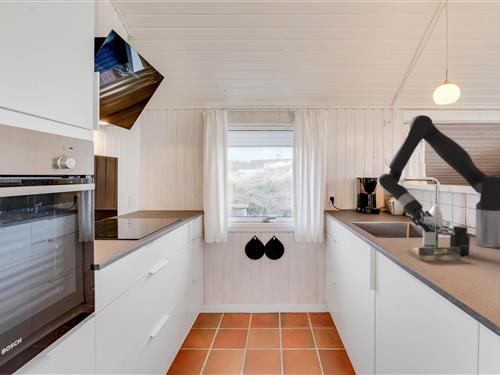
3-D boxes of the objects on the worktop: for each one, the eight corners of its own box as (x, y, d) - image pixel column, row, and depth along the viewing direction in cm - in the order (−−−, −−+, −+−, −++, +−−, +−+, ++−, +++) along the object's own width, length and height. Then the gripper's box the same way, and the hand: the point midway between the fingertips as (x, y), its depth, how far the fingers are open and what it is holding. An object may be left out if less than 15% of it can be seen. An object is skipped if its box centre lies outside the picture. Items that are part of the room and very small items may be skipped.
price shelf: (440, 251, 126) (440, 240, 126) (460, 260, 114) (460, 247, 113) (404, 252, 126) (404, 241, 126) (420, 260, 114) (420, 248, 114)
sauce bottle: (445, 232, 165) (446, 202, 164) (435, 233, 163) (436, 202, 162) (433, 230, 172) (433, 201, 172) (423, 231, 170) (423, 201, 169)
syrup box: (423, 247, 133) (424, 217, 132) (422, 244, 138) (423, 215, 138) (438, 249, 130) (438, 217, 130) (436, 246, 136) (437, 216, 135)
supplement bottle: (461, 257, 118) (461, 228, 117) (445, 253, 124) (446, 225, 124) (473, 255, 119) (474, 227, 119) (457, 251, 126) (458, 224, 125)
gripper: (406, 199, 136) (431, 227, 127) (423, 198, 143) (447, 224, 134) (395, 209, 141) (419, 237, 132) (412, 207, 148) (435, 233, 139)
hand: (433, 230), depth 133 cm, fingers closed on syrup box, 7 cm apart
